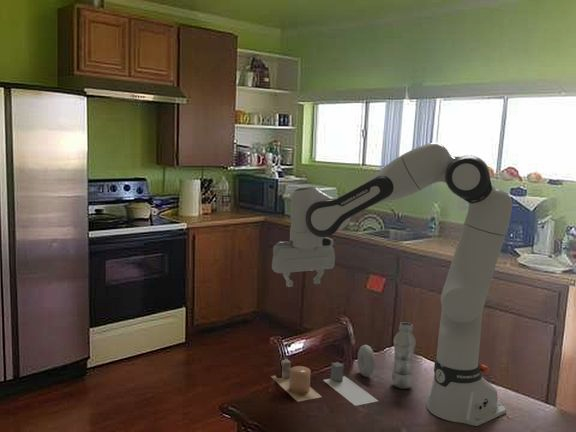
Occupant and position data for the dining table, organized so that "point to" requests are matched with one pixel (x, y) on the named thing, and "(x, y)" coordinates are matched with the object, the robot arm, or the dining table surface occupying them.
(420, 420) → the dining table surface
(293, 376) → the terracotta cylinder
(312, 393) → the oak strip
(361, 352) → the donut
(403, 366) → the plastic bottle
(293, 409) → the dining table surface
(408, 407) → the dining table surface
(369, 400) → the grey strip
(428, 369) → the dining table surface
